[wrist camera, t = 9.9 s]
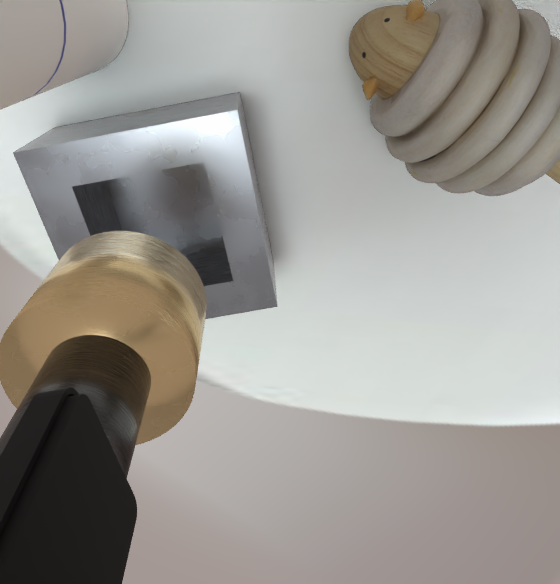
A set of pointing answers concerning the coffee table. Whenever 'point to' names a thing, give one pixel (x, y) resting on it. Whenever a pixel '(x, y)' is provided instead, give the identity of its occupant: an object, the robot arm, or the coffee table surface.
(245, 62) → the coffee table surface
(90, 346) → the stepped cylindrical shaft
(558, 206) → the coffee table surface
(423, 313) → the coffee table surface
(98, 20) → the cylindrical container
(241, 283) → the block
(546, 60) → the toy sheep
